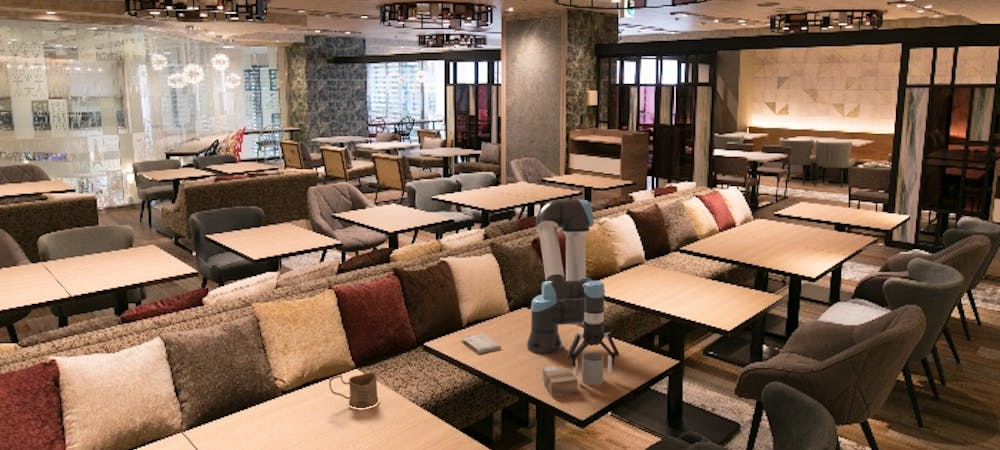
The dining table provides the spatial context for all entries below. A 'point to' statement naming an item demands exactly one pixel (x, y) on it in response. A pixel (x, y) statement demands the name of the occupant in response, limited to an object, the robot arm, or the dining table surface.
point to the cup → (592, 368)
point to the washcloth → (480, 343)
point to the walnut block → (560, 382)
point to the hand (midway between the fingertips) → (592, 373)
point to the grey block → (549, 369)
